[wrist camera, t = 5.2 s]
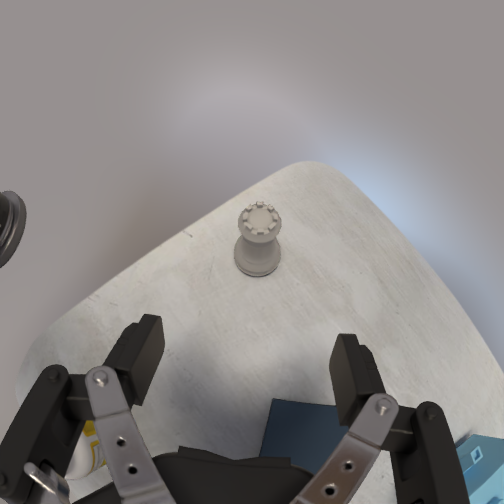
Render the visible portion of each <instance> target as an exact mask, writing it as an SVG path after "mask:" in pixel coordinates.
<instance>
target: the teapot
mask: <svg viewBox="0 0 504 504" xmlns="http://www.w3.org/2000/svg"><path fill="white" fill-rule="evenodd" d="M456 451H457V454H458V457H459V461H460V464H461V468H462V471H463V475H464V479H465V483H466V487H467V491H468V496H469V500H470V504H504V439H500V438H493V437H487V436H481V435H476V434H473V435H472V436H471V437H470V438H469V439H467V440H466V441H465V442H464V443H463V444H462V445H461V446H459V447H458V448H457V447H456Z"/></svg>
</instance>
